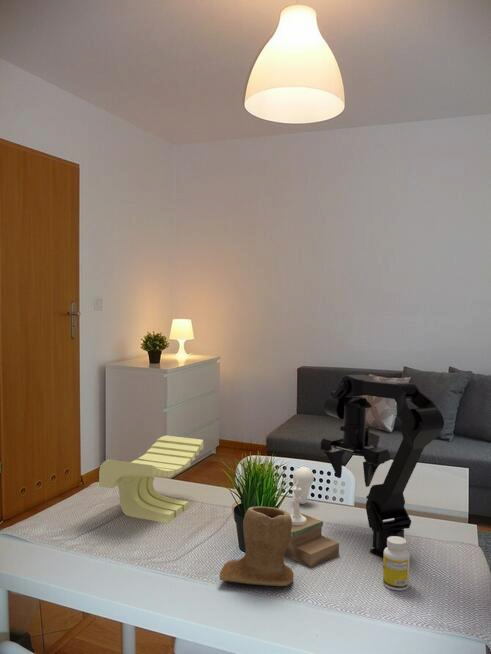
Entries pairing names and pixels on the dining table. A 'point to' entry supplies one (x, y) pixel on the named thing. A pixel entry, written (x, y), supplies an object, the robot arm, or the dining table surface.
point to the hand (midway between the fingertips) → (353, 482)
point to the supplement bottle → (396, 564)
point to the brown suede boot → (262, 549)
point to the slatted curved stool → (150, 478)
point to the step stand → (310, 543)
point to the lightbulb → (303, 482)
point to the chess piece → (297, 507)
